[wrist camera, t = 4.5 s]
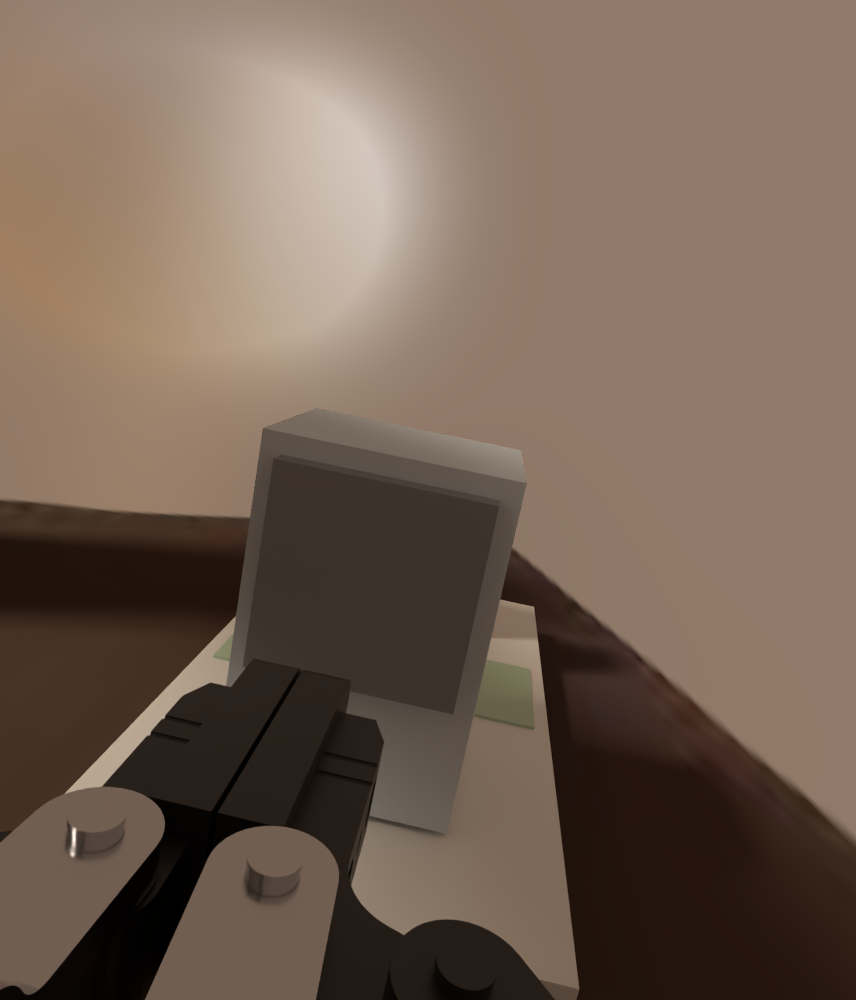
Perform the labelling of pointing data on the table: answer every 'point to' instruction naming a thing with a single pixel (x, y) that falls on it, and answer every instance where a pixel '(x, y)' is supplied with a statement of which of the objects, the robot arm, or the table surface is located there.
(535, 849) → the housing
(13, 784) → the table surface
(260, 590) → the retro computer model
